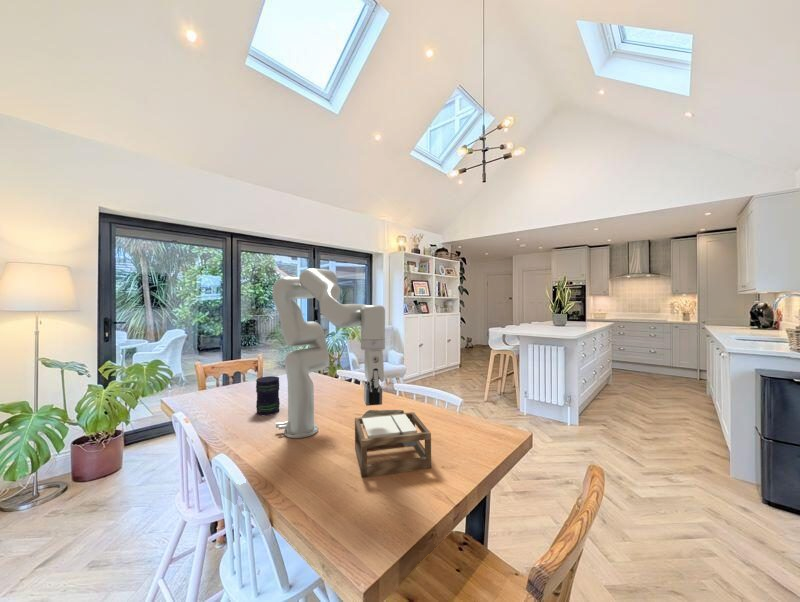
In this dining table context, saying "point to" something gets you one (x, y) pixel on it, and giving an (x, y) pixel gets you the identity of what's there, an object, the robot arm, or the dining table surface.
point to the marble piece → (381, 412)
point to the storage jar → (267, 395)
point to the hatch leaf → (389, 427)
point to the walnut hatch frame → (398, 465)
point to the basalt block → (366, 394)
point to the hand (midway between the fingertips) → (372, 400)
